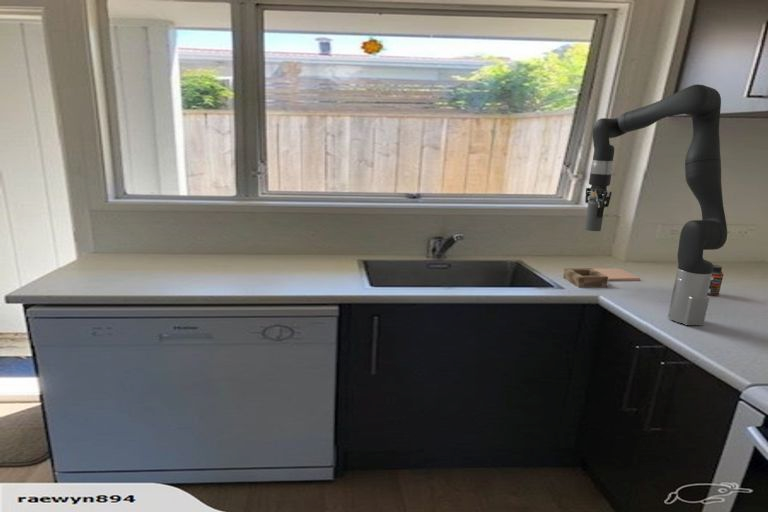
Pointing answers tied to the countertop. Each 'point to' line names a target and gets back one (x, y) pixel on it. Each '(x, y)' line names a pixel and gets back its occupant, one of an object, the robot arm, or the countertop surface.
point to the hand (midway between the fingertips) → (594, 215)
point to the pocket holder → (585, 277)
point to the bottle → (593, 215)
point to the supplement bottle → (715, 281)
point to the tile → (617, 275)
